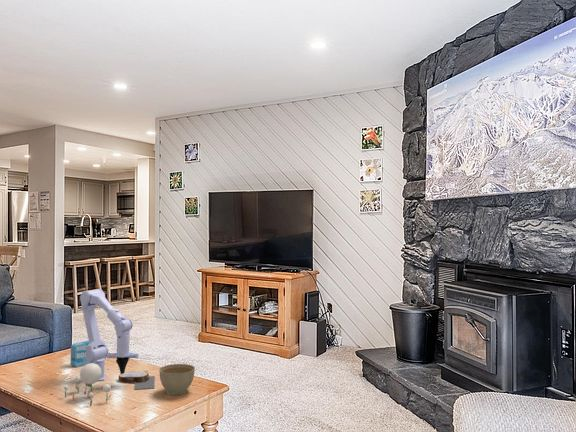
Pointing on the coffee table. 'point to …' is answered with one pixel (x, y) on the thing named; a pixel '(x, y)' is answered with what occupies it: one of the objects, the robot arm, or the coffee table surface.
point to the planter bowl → (176, 378)
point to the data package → (78, 353)
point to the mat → (146, 384)
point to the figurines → (90, 380)
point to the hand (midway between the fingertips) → (122, 373)
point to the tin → (133, 377)
